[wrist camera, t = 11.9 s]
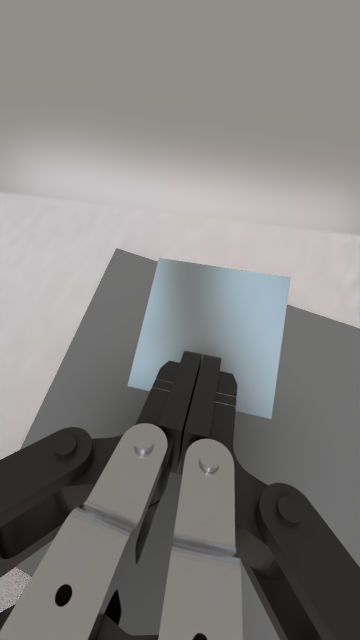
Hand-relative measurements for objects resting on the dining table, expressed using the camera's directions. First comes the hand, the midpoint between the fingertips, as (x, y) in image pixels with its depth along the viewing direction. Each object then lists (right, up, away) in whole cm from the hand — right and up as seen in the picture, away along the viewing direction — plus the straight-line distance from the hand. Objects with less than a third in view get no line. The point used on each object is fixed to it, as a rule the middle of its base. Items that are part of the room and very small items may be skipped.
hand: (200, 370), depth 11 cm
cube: (+1, +1, +3) cm, 3 cm away
